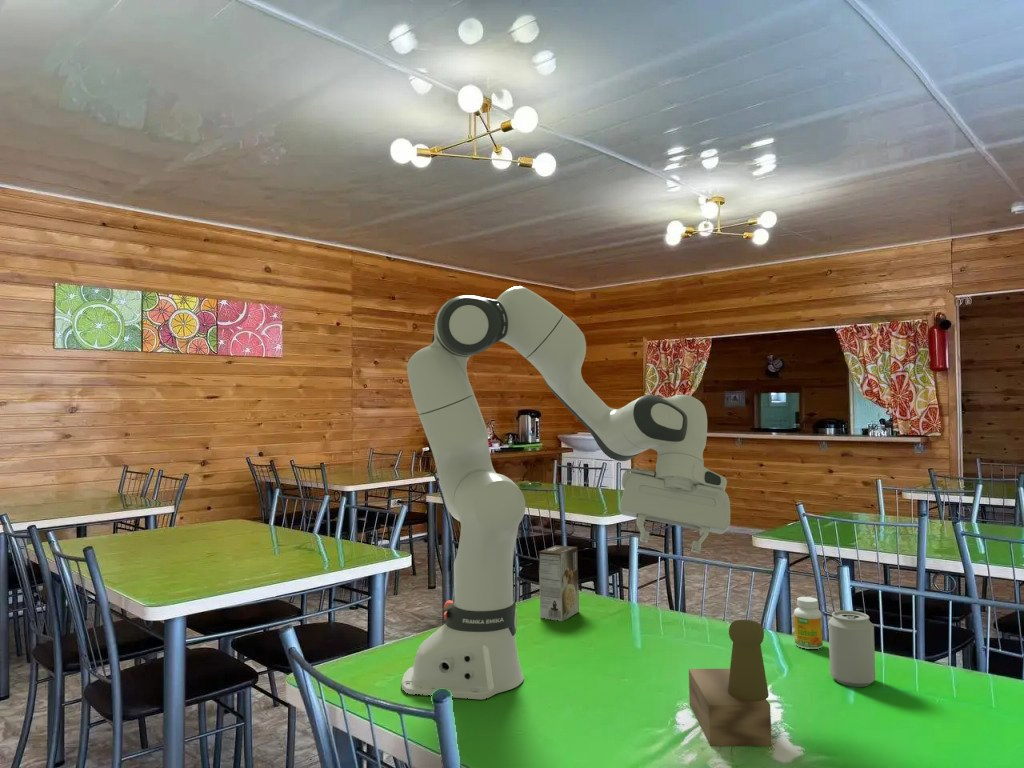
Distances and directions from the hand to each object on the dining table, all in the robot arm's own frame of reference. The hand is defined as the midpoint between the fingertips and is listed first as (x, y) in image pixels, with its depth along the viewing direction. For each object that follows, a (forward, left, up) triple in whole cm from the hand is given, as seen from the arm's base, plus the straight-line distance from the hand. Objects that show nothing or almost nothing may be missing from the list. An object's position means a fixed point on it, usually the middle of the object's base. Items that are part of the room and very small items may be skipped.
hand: (669, 546), depth 134 cm
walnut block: (+6, -17, -25) cm, 30 cm away
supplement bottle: (+32, +20, -25) cm, 45 cm away
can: (+33, +1, -25) cm, 41 cm away
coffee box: (-19, +44, -25) cm, 54 cm away
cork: (+8, -20, -19) cm, 29 cm away
